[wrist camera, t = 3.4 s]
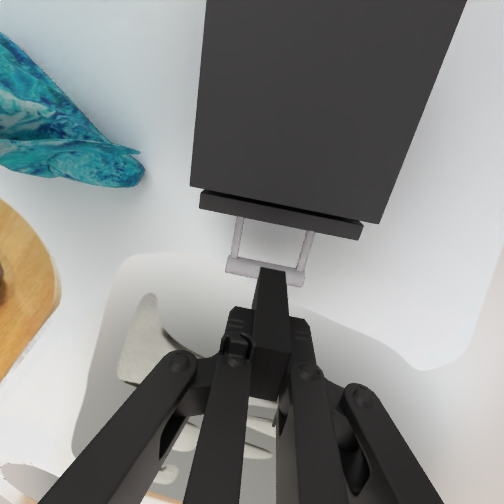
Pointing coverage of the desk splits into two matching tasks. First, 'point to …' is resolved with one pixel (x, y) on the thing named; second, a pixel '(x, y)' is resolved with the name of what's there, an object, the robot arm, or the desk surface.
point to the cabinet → (315, 98)
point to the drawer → (275, 215)
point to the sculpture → (53, 130)
